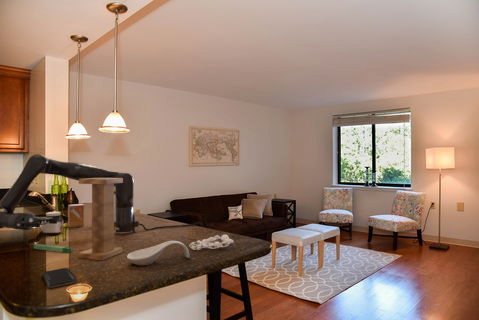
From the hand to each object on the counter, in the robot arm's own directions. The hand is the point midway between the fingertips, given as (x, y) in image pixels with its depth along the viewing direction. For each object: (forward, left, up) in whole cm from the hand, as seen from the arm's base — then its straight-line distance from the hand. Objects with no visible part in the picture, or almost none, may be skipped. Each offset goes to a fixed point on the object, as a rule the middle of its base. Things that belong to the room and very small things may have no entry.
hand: (48, 223), depth 143 cm
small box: (-24, -50, -12) cm, 56 cm away
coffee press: (-44, -42, -12) cm, 62 cm away
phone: (+5, +44, -12) cm, 46 cm away
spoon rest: (-29, +48, -12) cm, 58 cm away
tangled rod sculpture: (-57, +46, -12) cm, 74 cm away
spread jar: (-8, -36, -12) cm, 39 cm away
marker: (-1, +2, -12) cm, 12 cm away
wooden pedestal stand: (-15, +24, -12) cm, 31 cm away
